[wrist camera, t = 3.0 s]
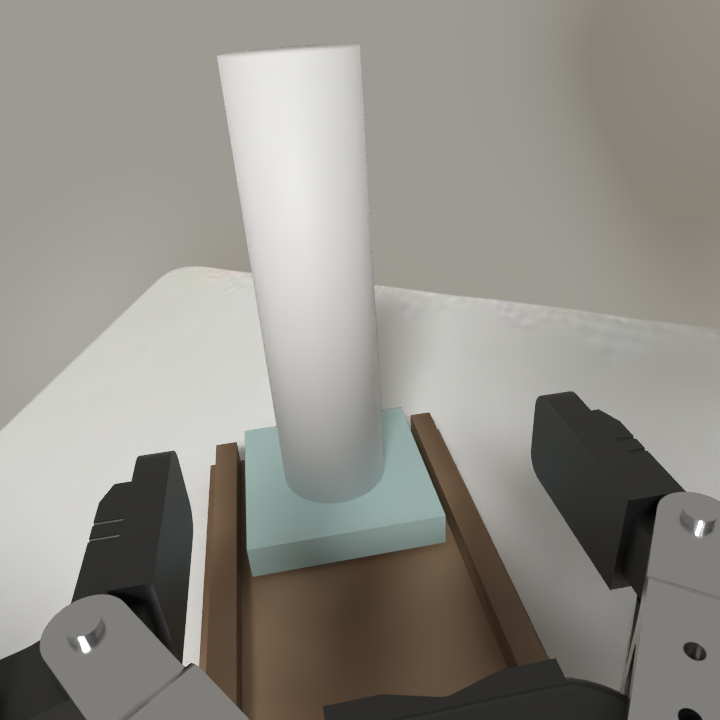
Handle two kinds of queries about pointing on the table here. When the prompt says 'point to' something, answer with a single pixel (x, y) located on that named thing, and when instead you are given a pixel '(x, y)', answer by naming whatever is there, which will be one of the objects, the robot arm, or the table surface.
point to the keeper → (317, 320)
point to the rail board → (358, 608)
